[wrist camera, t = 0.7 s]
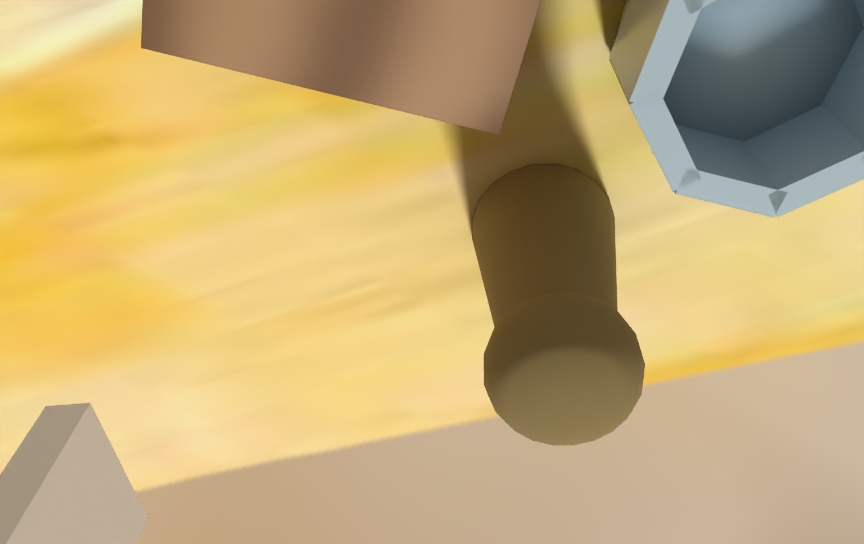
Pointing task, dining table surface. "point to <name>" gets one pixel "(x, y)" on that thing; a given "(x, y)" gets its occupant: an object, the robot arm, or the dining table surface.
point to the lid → (361, 48)
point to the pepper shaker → (554, 307)
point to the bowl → (747, 96)
